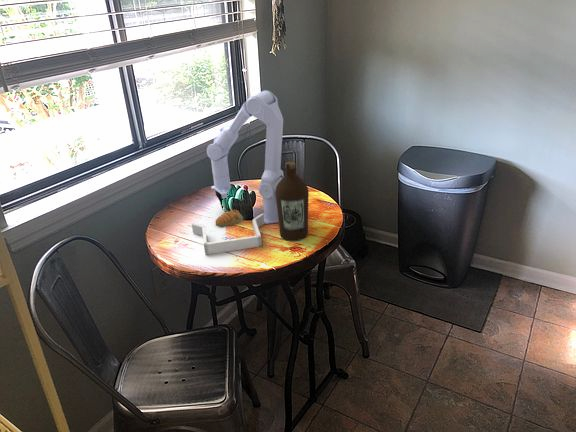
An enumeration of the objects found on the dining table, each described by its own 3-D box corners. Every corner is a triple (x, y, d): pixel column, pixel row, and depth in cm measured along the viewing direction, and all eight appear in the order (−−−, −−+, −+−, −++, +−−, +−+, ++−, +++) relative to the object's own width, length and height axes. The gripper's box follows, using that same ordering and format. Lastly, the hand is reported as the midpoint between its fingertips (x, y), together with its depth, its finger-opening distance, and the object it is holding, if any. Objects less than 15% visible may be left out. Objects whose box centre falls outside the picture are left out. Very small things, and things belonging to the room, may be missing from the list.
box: (264, 222, 165) (263, 213, 163) (272, 244, 150) (271, 234, 149) (193, 232, 161) (191, 223, 159) (194, 256, 146) (192, 246, 145)
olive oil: (277, 227, 160) (273, 158, 149) (308, 226, 161) (306, 156, 149) (278, 243, 151) (273, 170, 140) (311, 241, 151) (308, 168, 140)
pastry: (222, 230, 162) (221, 220, 160) (211, 224, 166) (210, 214, 165) (244, 221, 167) (243, 211, 165) (233, 215, 172) (232, 206, 170)
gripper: (208, 169, 174) (213, 202, 180) (211, 183, 161) (215, 218, 167) (227, 166, 175) (231, 199, 181) (231, 180, 162) (235, 215, 168)
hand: (225, 208), depth 174 cm, fingers closed
